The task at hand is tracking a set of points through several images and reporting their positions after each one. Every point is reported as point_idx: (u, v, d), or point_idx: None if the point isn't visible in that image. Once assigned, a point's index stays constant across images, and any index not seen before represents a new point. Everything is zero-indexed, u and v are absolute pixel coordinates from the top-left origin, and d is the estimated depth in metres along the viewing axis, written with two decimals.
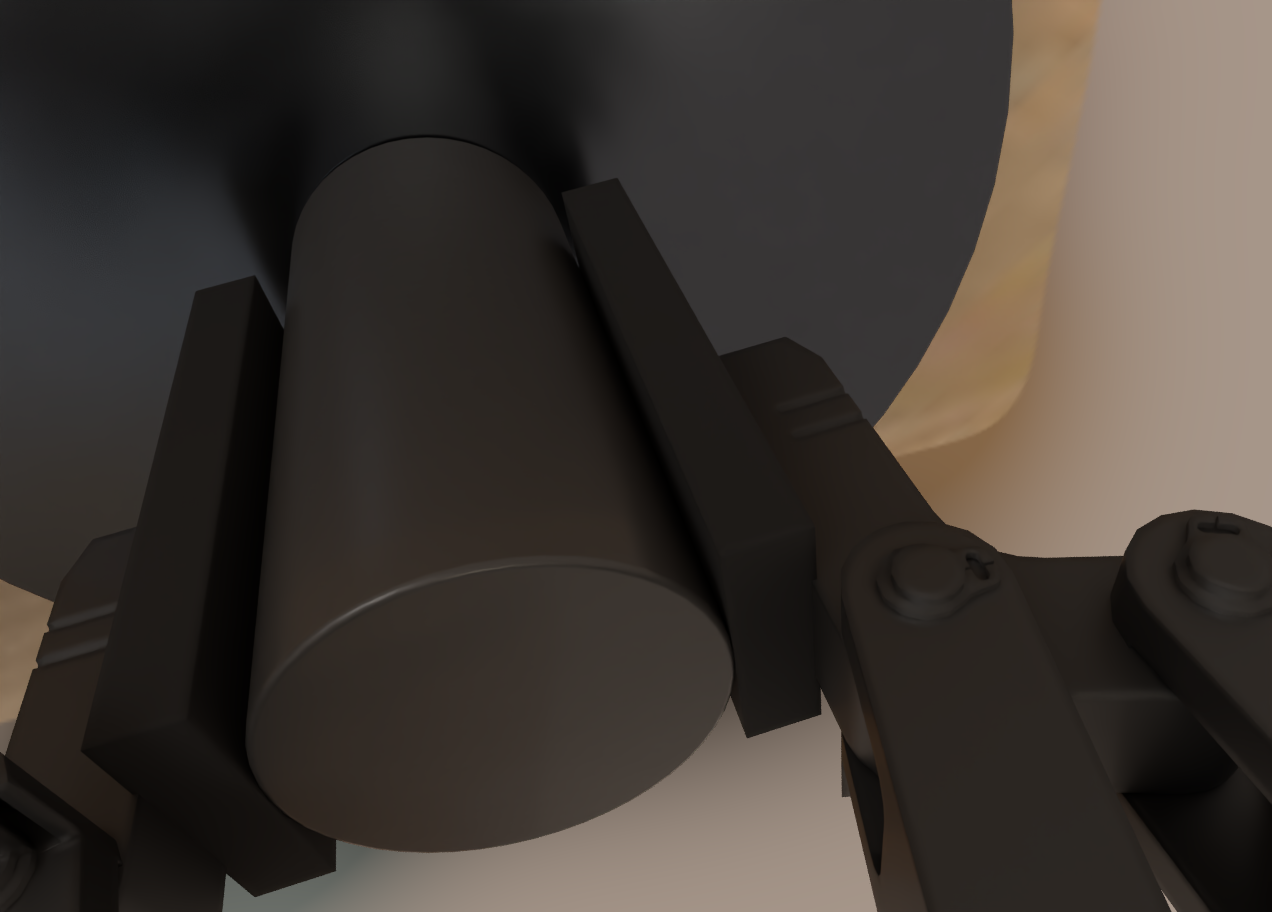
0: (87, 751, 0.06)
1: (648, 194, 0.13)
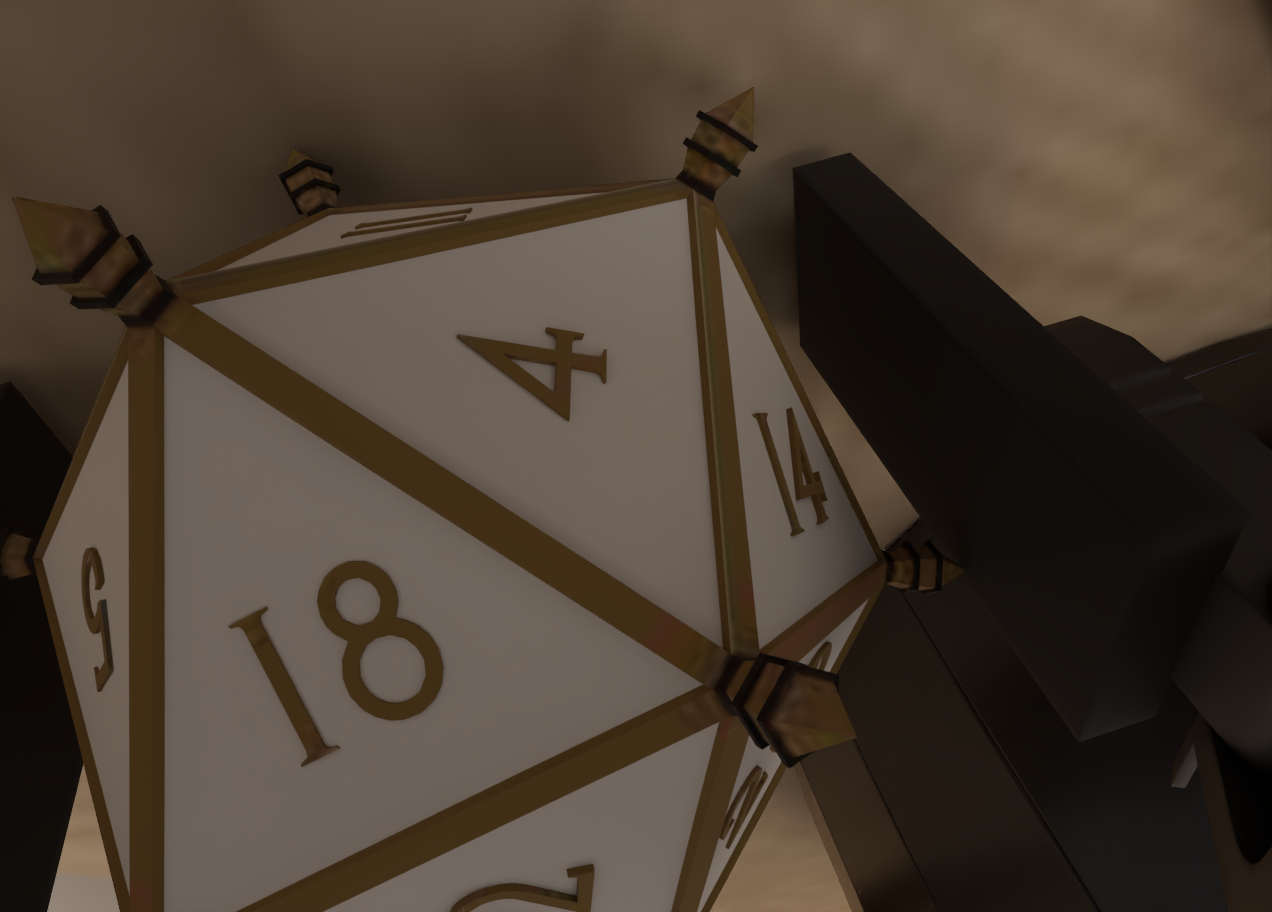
0: None
1: None
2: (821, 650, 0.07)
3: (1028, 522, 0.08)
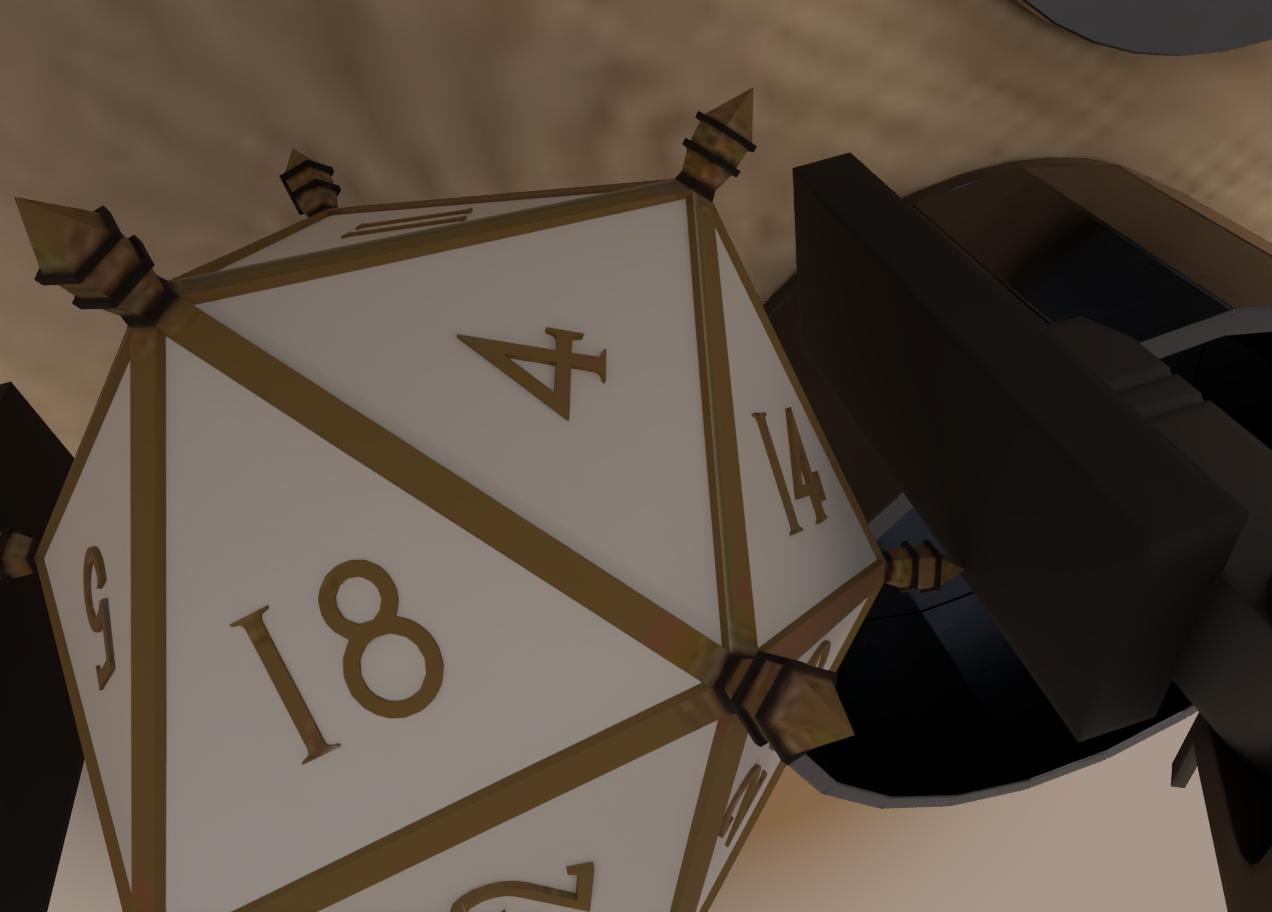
0: None
1: None
2: (820, 649, 0.07)
3: (1028, 522, 0.08)
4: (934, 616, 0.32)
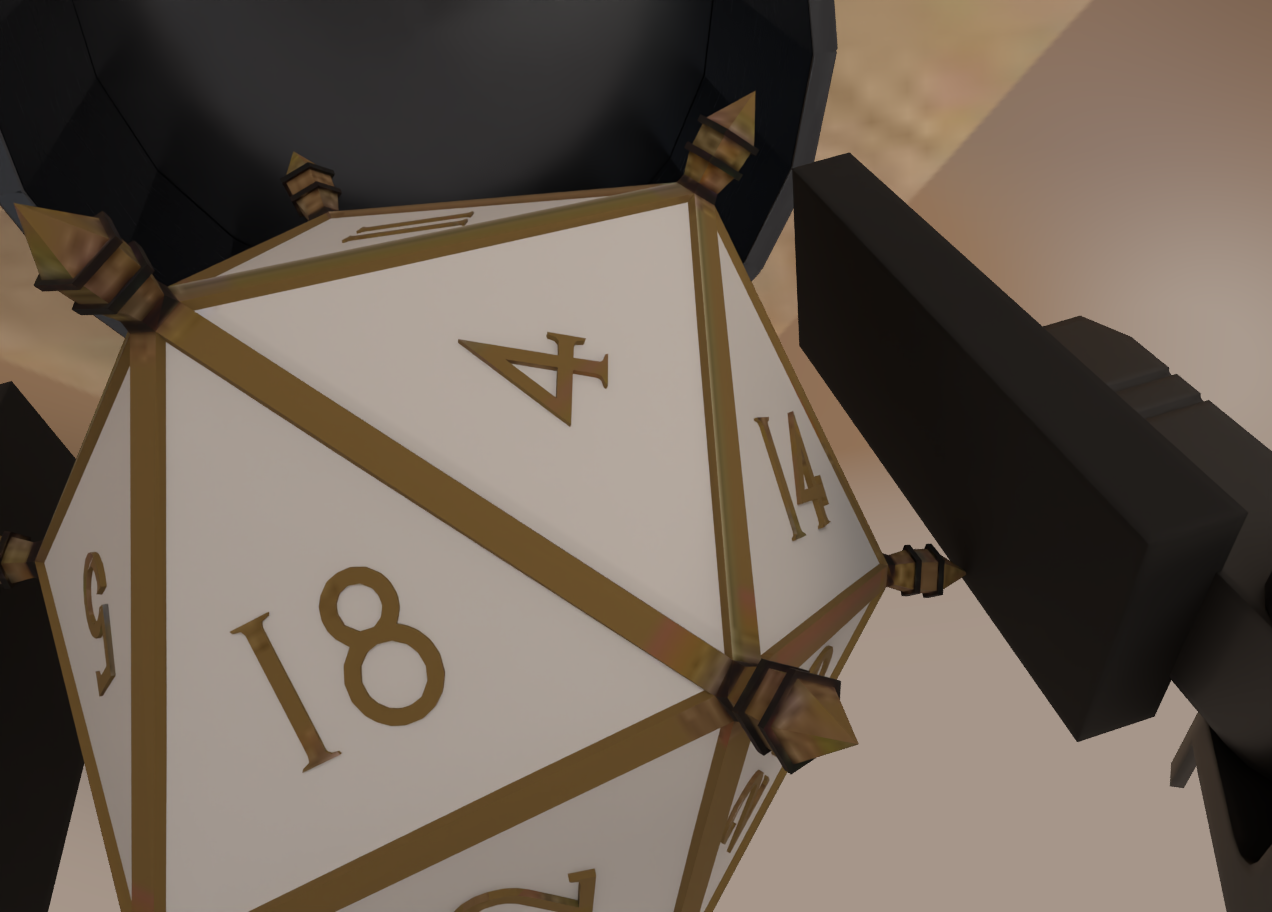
0: None
1: None
2: (823, 654, 0.07)
3: (1027, 522, 0.08)
4: None
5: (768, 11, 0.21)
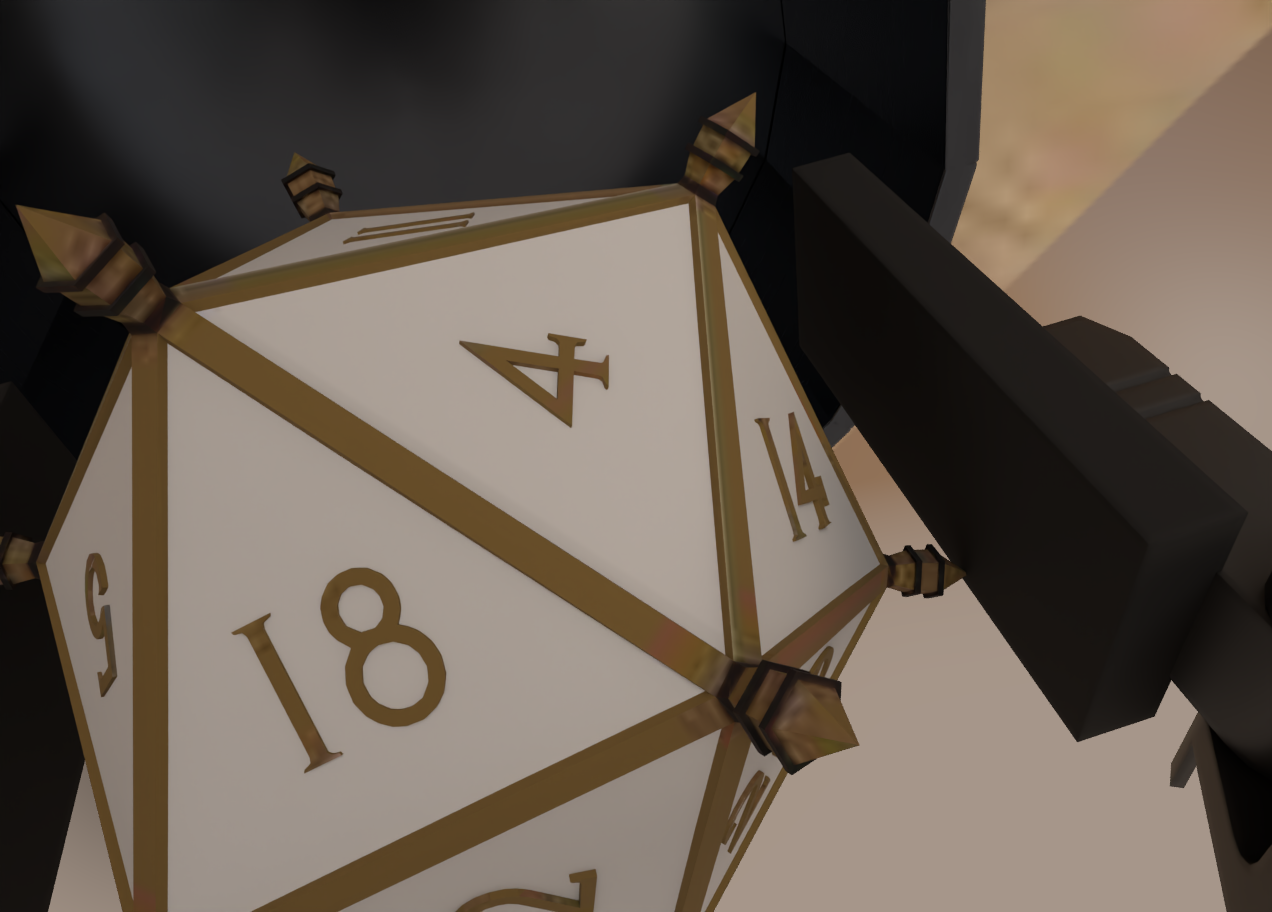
0: None
1: None
2: (823, 655, 0.07)
3: (1027, 522, 0.08)
4: None
5: (869, 99, 0.16)
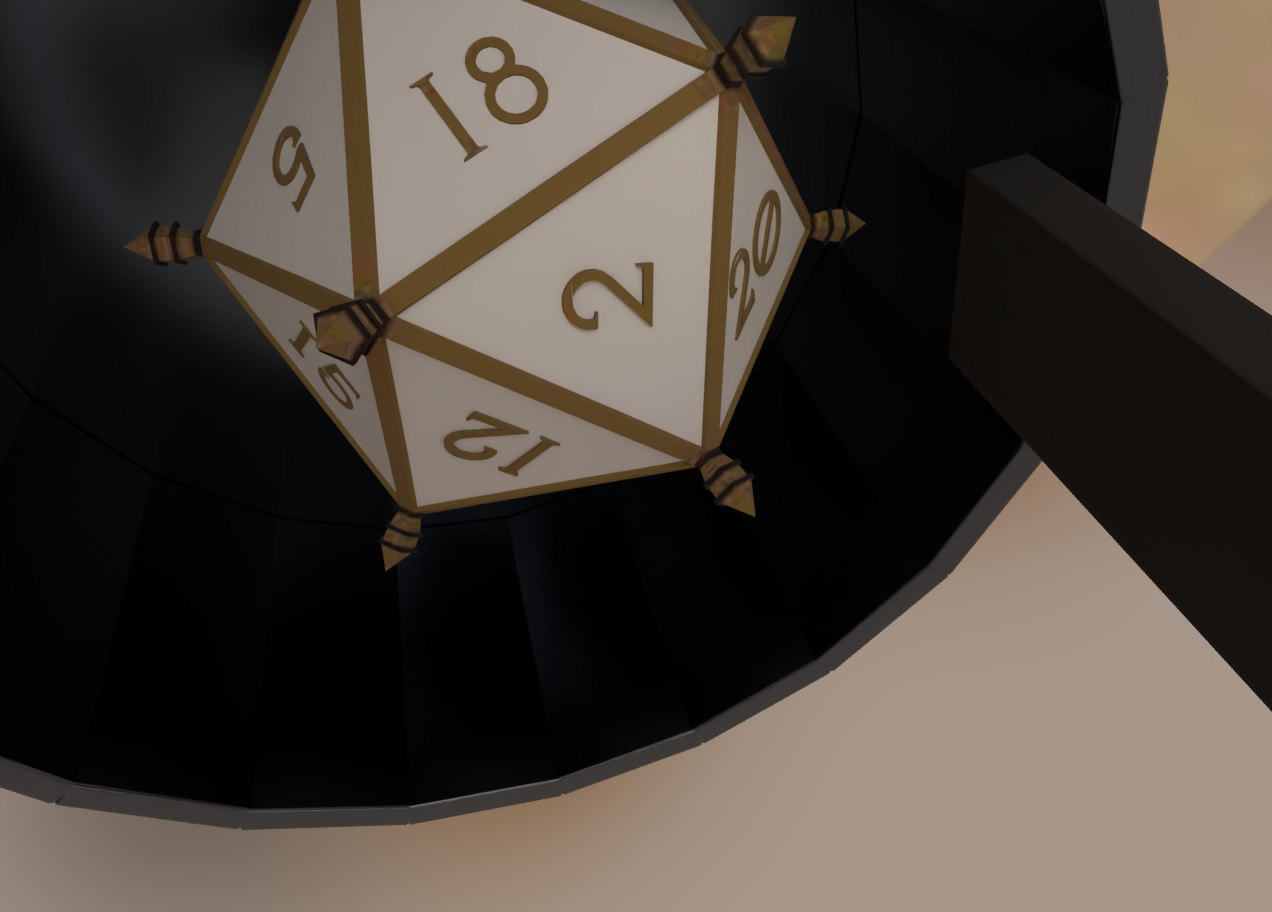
0: None
1: None
2: (774, 190, 0.11)
3: None
4: (520, 523, 0.21)
5: None
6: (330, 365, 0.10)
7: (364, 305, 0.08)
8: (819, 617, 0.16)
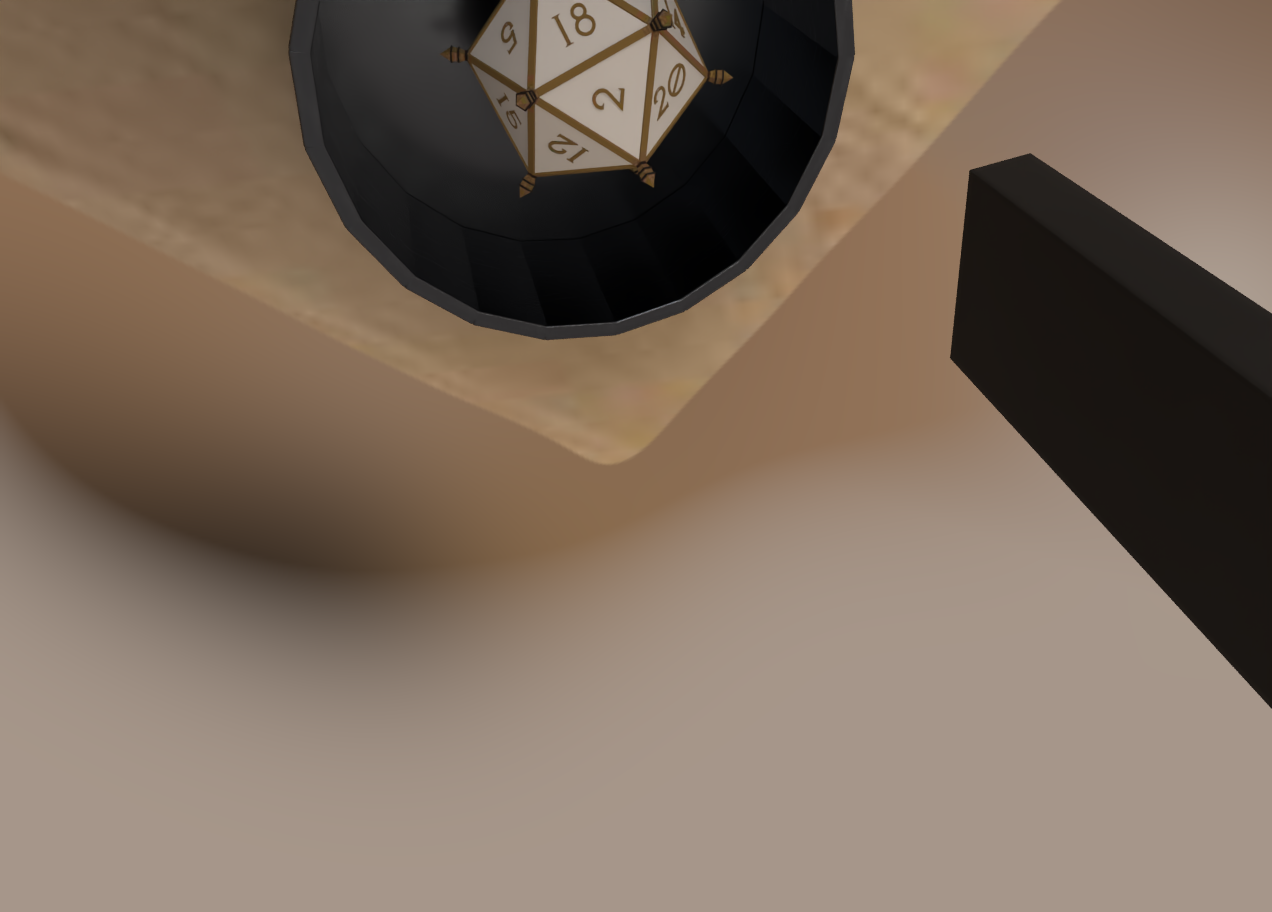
0: None
1: None
2: (680, 63, 0.28)
3: None
4: (587, 240, 0.38)
5: (805, 29, 0.31)
6: (511, 110, 0.29)
7: (530, 92, 0.27)
8: (741, 242, 0.33)
